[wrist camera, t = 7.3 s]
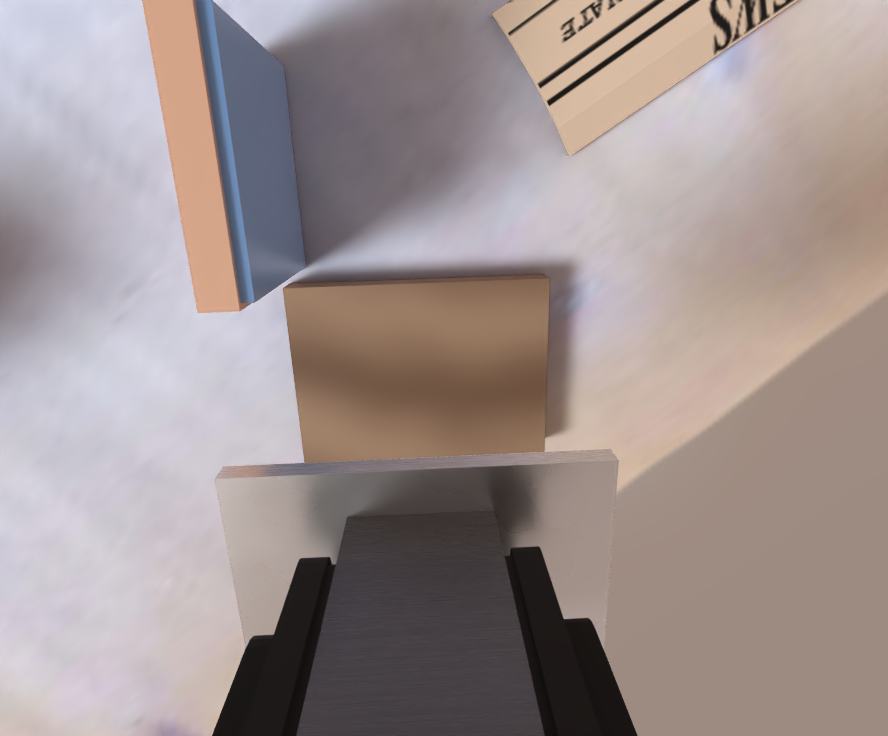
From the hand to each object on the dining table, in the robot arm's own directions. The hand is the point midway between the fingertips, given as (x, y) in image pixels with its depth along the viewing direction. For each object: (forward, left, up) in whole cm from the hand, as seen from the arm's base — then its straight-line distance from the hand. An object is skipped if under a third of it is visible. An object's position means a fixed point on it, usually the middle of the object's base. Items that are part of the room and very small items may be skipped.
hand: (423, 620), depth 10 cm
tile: (-9, -6, -15) cm, 18 cm away
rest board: (0, 0, -15) cm, 15 cm away
